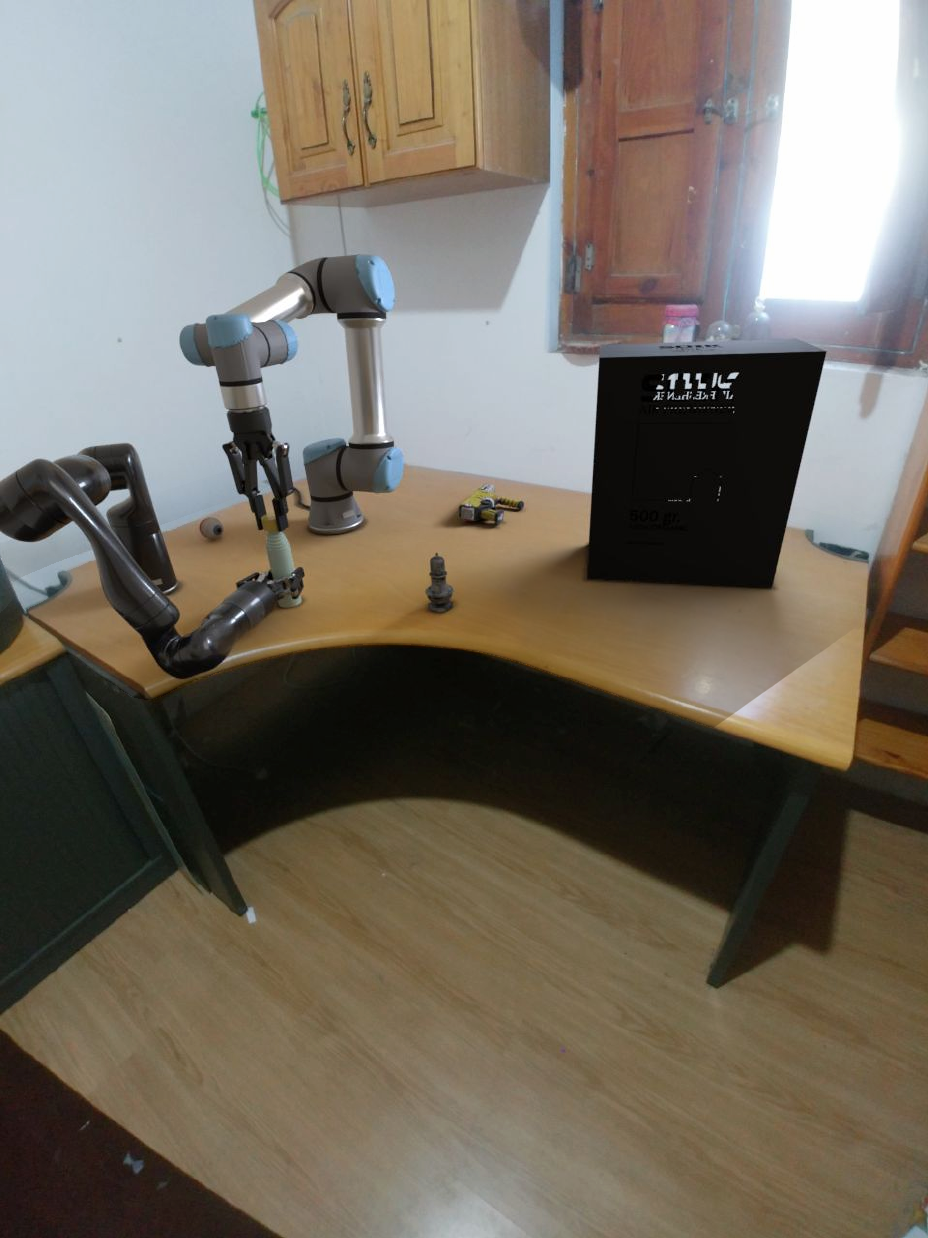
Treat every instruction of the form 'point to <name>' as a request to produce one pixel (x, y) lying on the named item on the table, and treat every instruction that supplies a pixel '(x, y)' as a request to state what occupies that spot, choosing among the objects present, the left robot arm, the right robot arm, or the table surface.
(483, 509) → the toy gun
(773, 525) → the cardboard box
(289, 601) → the bottle
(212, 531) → the eyeball
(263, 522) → the cap
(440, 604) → the grey chess piece
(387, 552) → the table surface
